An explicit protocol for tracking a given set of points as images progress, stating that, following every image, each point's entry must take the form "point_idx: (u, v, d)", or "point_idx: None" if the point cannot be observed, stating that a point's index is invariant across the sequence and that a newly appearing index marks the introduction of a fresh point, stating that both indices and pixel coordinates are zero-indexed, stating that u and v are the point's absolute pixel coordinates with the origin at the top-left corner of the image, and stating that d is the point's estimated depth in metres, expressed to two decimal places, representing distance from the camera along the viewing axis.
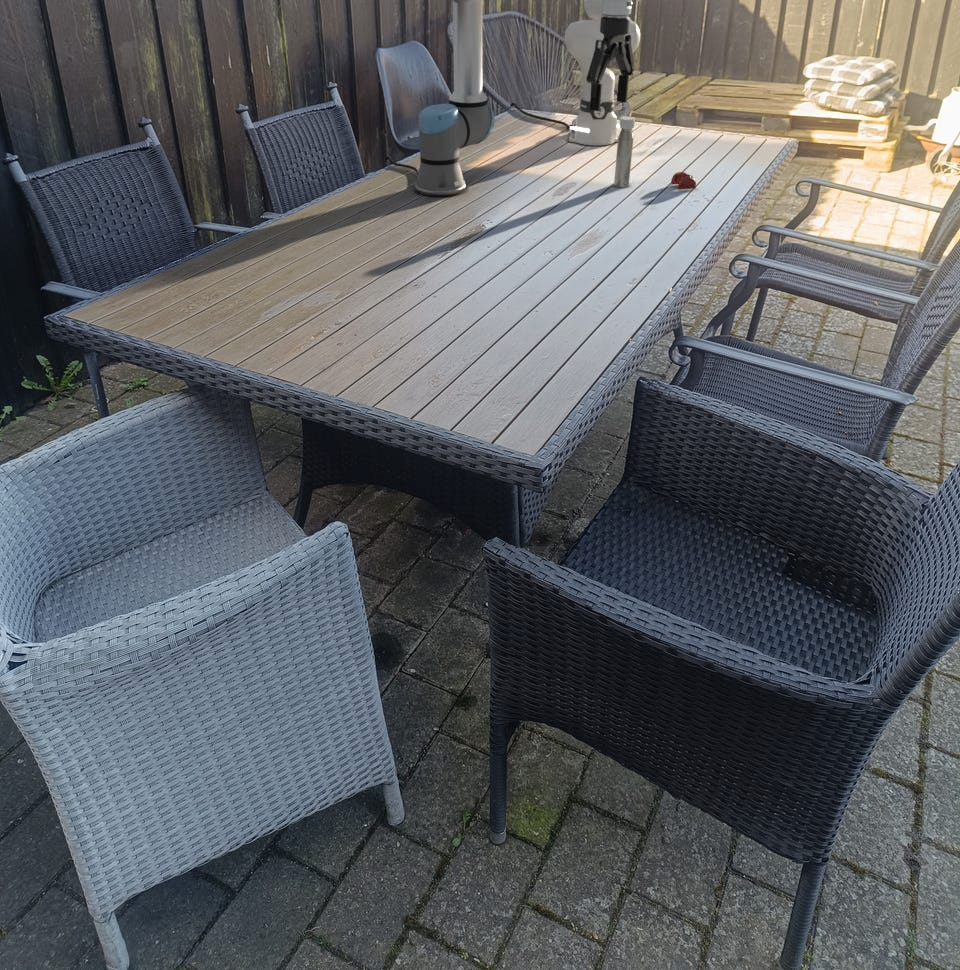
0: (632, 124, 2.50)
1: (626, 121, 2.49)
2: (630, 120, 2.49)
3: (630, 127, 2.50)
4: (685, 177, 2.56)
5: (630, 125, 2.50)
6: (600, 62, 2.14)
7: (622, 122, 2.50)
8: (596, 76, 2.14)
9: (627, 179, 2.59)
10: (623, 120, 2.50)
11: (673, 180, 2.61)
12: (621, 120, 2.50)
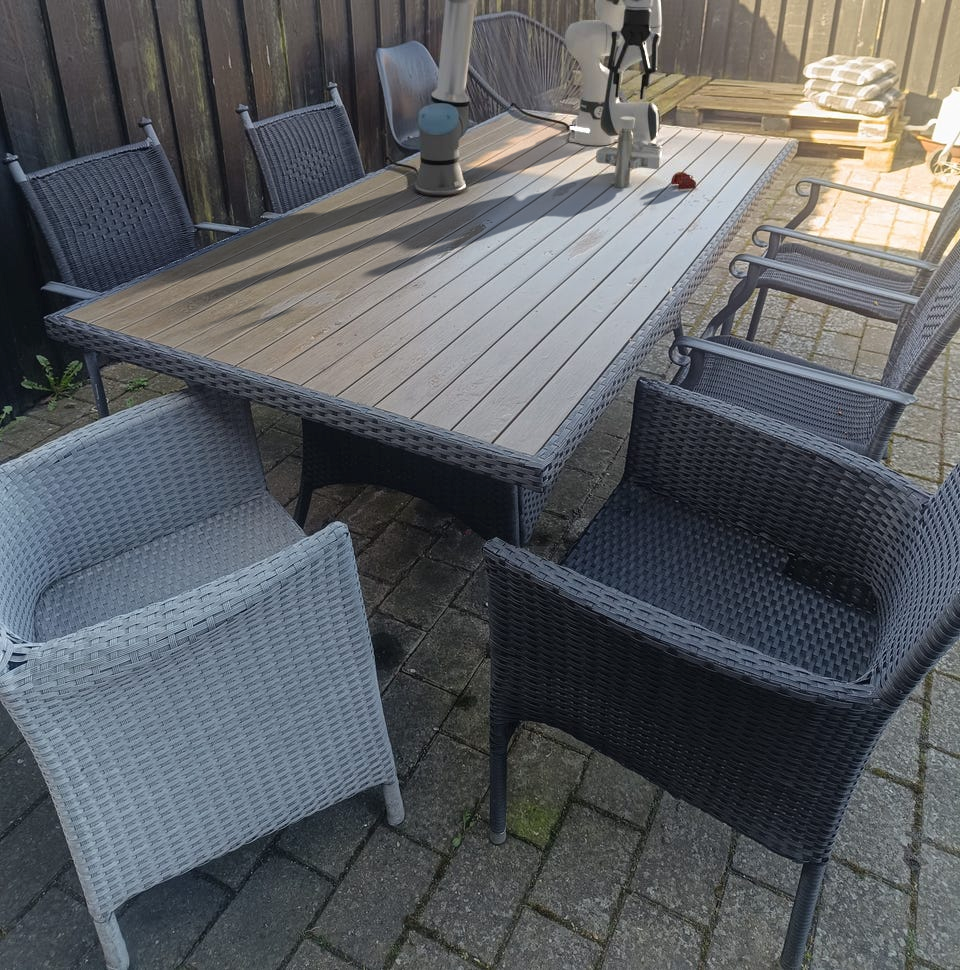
0: (632, 124, 2.50)
1: (625, 121, 2.49)
2: (630, 120, 2.49)
3: (630, 127, 2.50)
4: (685, 177, 2.56)
5: (630, 125, 2.50)
6: (612, 51, 2.41)
7: (622, 122, 2.50)
8: (610, 64, 2.43)
9: (627, 179, 2.59)
10: (623, 120, 2.50)
11: (673, 180, 2.61)
12: (621, 120, 2.50)
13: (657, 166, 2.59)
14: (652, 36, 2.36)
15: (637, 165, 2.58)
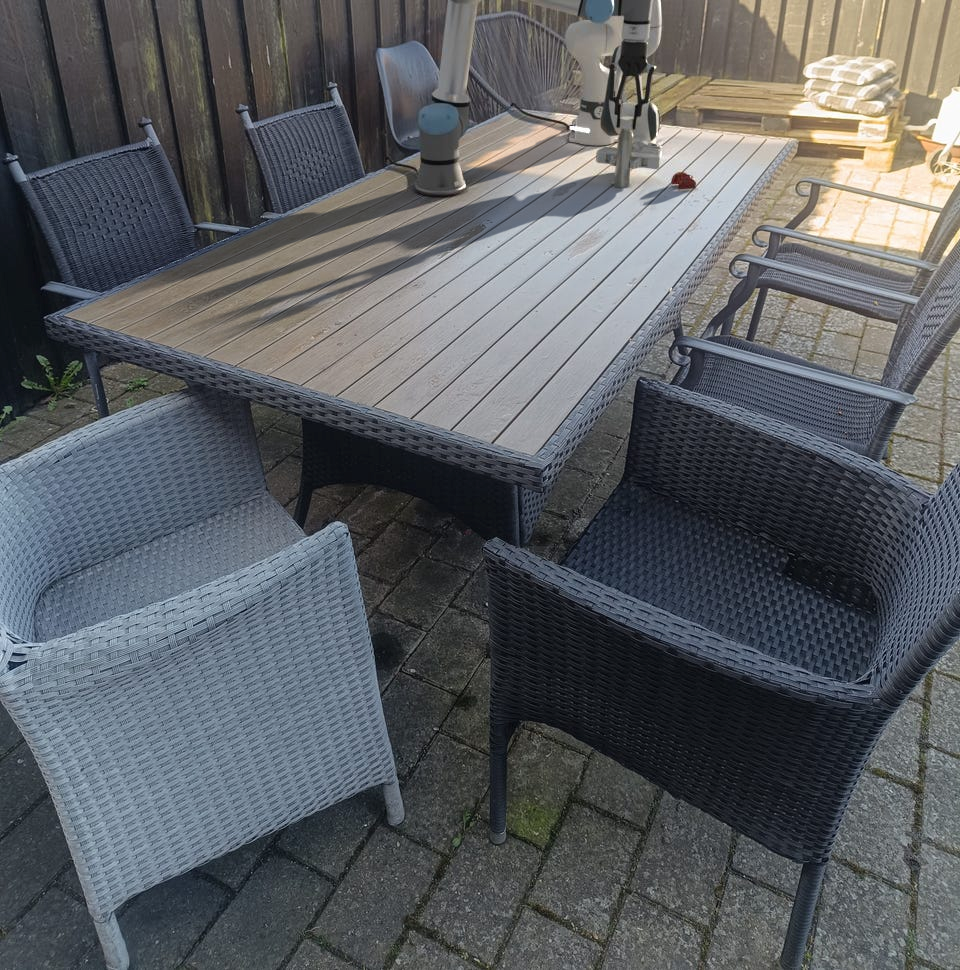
0: (632, 124, 2.50)
1: (626, 121, 2.49)
2: (630, 120, 2.49)
3: (630, 127, 2.50)
4: (685, 177, 2.56)
5: (630, 125, 2.50)
6: (611, 83, 2.46)
7: (622, 122, 2.50)
8: (611, 95, 2.48)
9: (627, 179, 2.59)
10: (623, 120, 2.50)
11: (673, 180, 2.61)
12: (621, 120, 2.50)
13: (657, 166, 2.59)
14: (648, 68, 2.41)
15: (637, 165, 2.58)
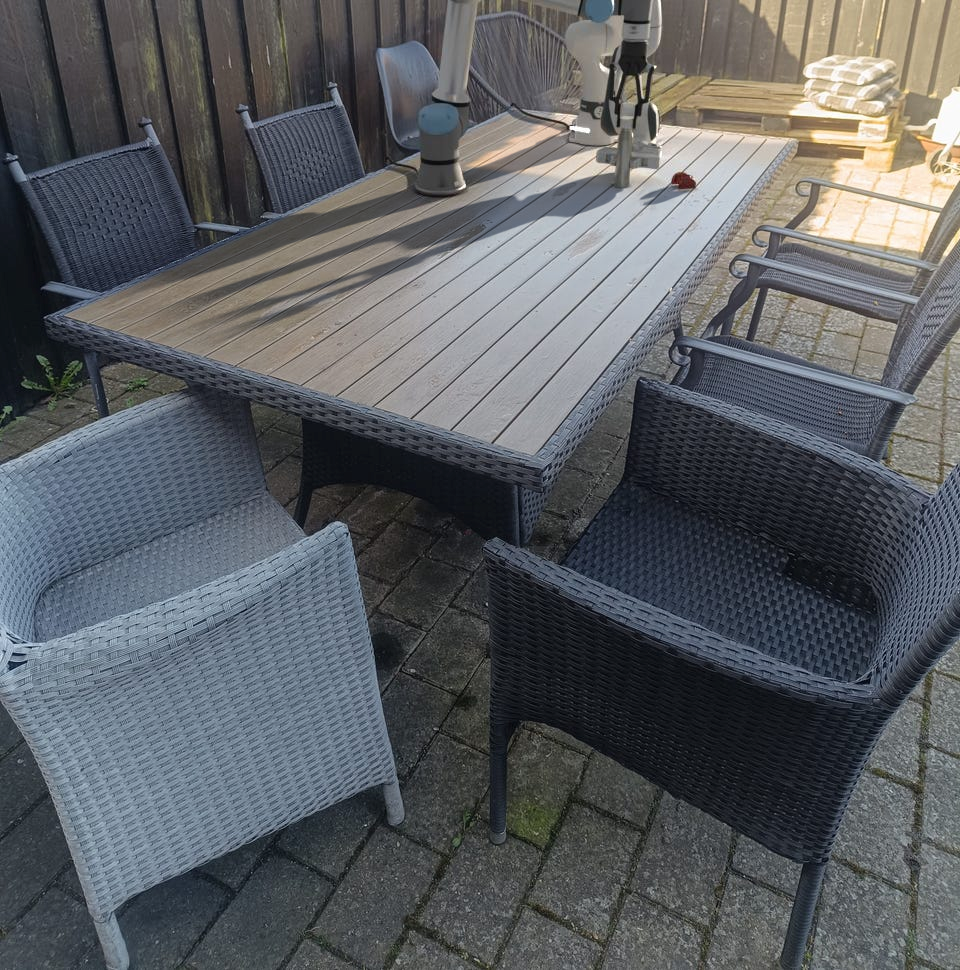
0: None
1: None
2: None
3: None
4: (685, 177, 2.56)
5: None
6: (611, 82, 2.46)
7: (632, 122, 2.50)
8: (611, 95, 2.48)
9: (627, 179, 2.59)
10: (633, 120, 2.50)
11: (673, 180, 2.61)
12: (631, 120, 2.49)
13: (657, 166, 2.59)
14: (648, 68, 2.41)
15: (637, 165, 2.58)
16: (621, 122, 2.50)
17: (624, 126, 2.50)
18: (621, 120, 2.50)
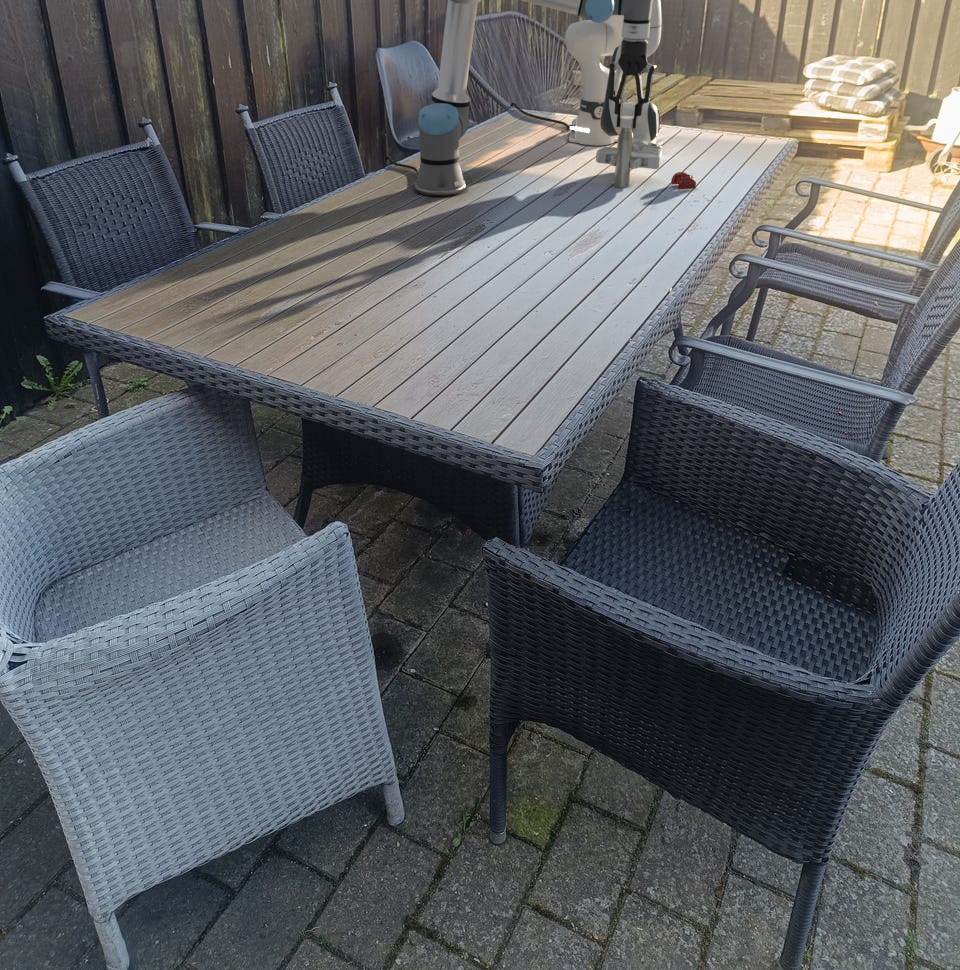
0: None
1: None
2: None
3: None
4: (685, 177, 2.56)
5: None
6: (611, 82, 2.46)
7: None
8: (611, 95, 2.48)
9: (627, 179, 2.59)
10: None
11: (673, 180, 2.61)
12: None
13: (657, 166, 2.59)
14: (648, 67, 2.41)
15: (637, 165, 2.58)
16: (631, 122, 2.50)
17: None
18: (631, 120, 2.49)
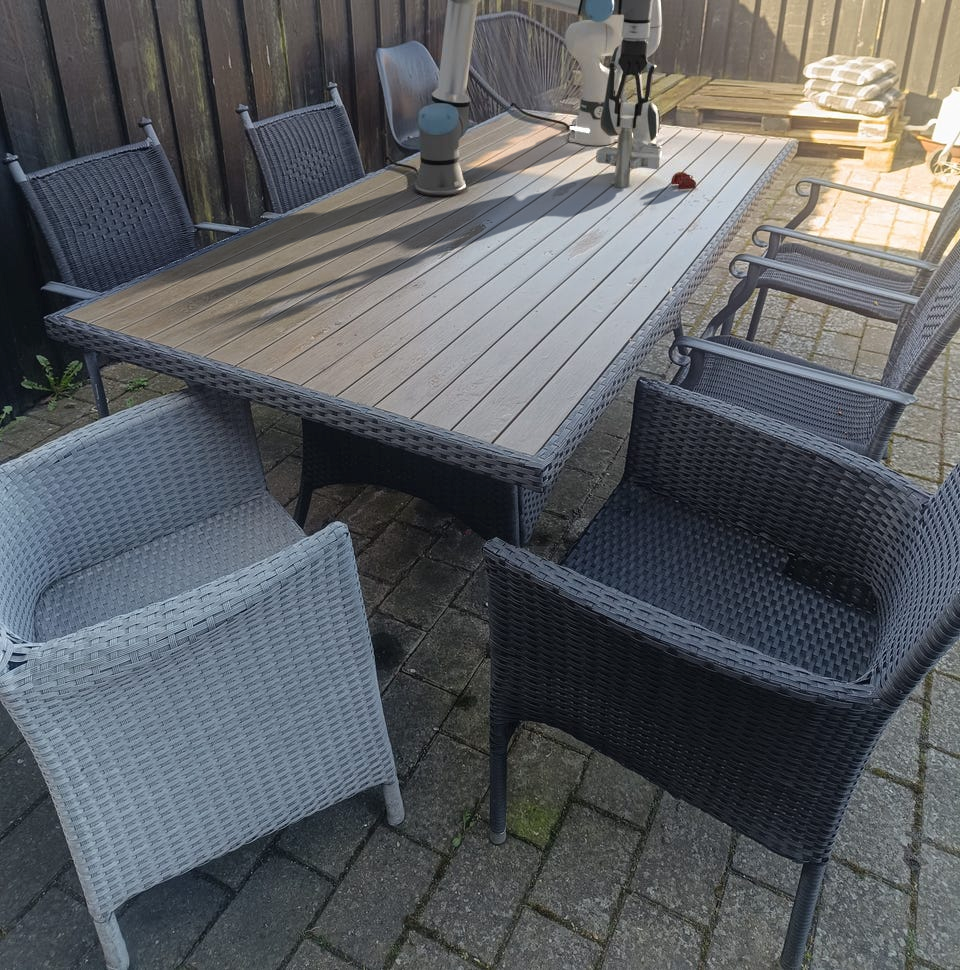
0: (622, 123, 2.50)
1: (620, 118, 2.51)
2: (621, 118, 2.50)
3: (620, 125, 2.51)
4: (685, 177, 2.56)
5: (620, 123, 2.51)
6: (611, 82, 2.46)
7: None
8: (611, 94, 2.48)
9: (627, 179, 2.59)
10: None
11: (673, 180, 2.61)
12: None
13: (657, 166, 2.59)
14: (648, 67, 2.41)
15: (637, 165, 2.58)
16: None
17: None
18: None
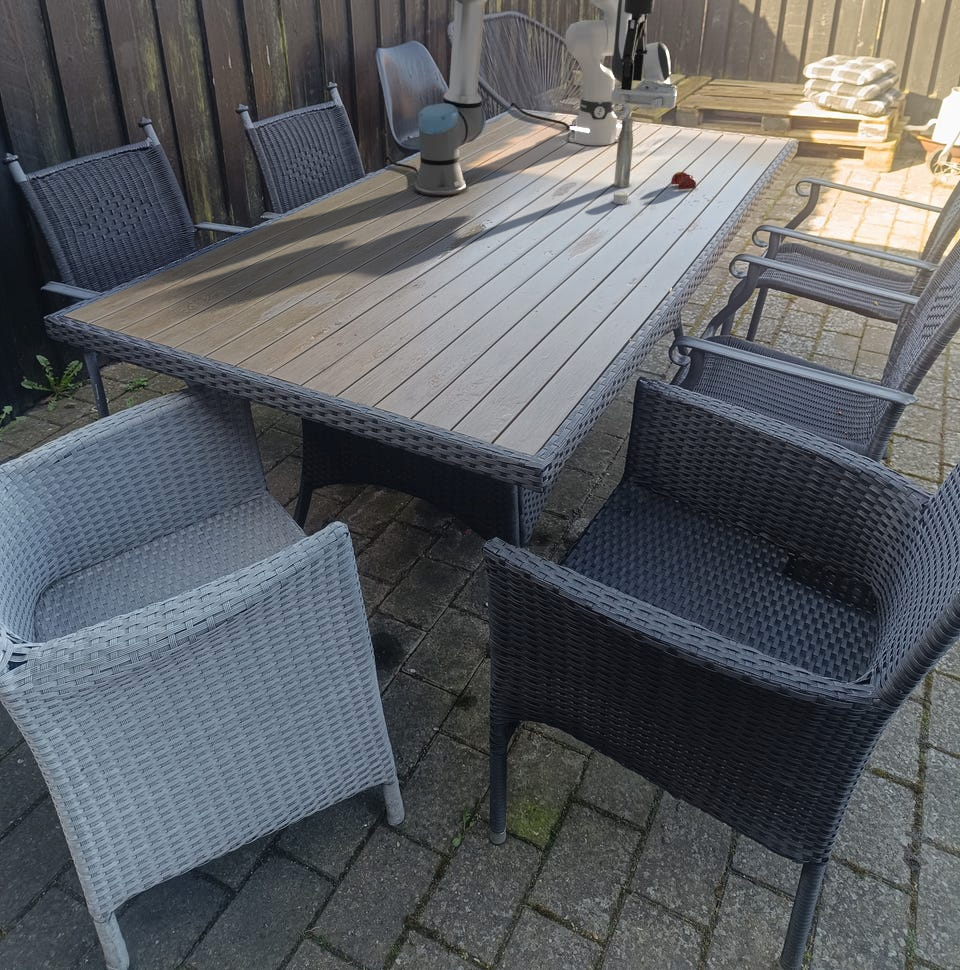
0: None
1: (628, 195, 2.47)
2: None
3: None
4: (685, 177, 2.56)
5: None
6: (634, 41, 2.17)
7: (626, 197, 2.46)
8: (632, 55, 2.18)
9: (627, 179, 2.59)
10: (627, 195, 2.46)
11: (673, 180, 2.61)
12: (625, 196, 2.46)
13: (672, 105, 2.59)
14: (643, 19, 2.25)
15: (658, 104, 2.58)
16: (615, 197, 2.47)
17: (618, 202, 2.47)
18: (615, 196, 2.47)
